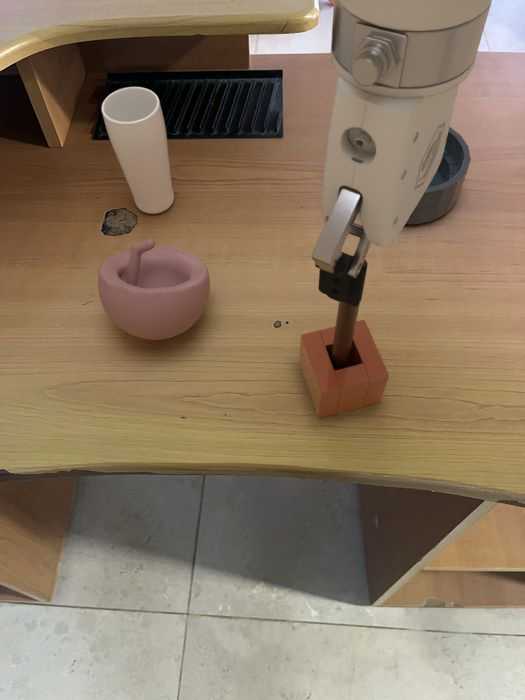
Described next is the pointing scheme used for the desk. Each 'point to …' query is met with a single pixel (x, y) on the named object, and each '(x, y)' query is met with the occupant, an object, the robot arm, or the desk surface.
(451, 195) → the bowl
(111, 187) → the desk surface
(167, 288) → the mortar and pestle
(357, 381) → the holder
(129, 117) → the drinking glass
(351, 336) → the stirring stick
